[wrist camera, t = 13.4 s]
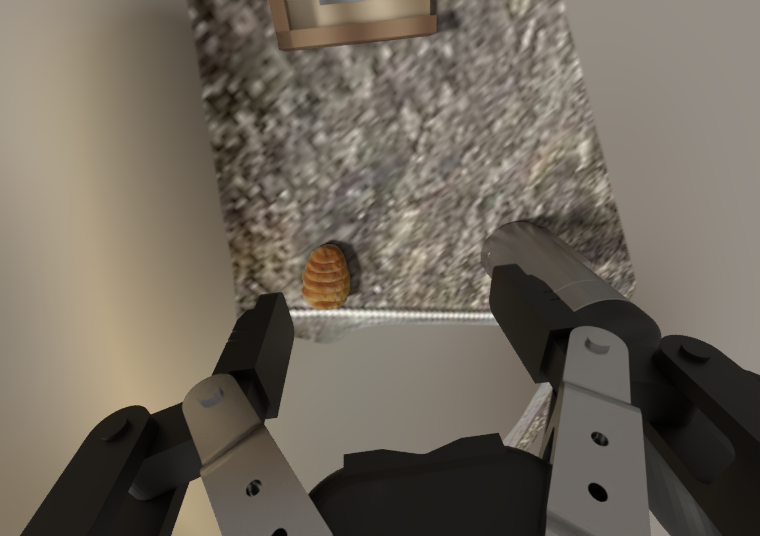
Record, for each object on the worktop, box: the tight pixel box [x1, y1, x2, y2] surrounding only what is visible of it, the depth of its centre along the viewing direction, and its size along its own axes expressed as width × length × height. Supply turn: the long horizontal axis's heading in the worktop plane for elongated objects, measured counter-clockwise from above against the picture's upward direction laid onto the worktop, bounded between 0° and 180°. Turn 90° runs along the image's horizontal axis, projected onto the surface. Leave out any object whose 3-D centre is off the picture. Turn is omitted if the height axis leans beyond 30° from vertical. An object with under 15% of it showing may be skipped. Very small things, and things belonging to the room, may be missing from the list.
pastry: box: [302, 244, 351, 310], centre depth 42 cm, size 9×7×4 cm
